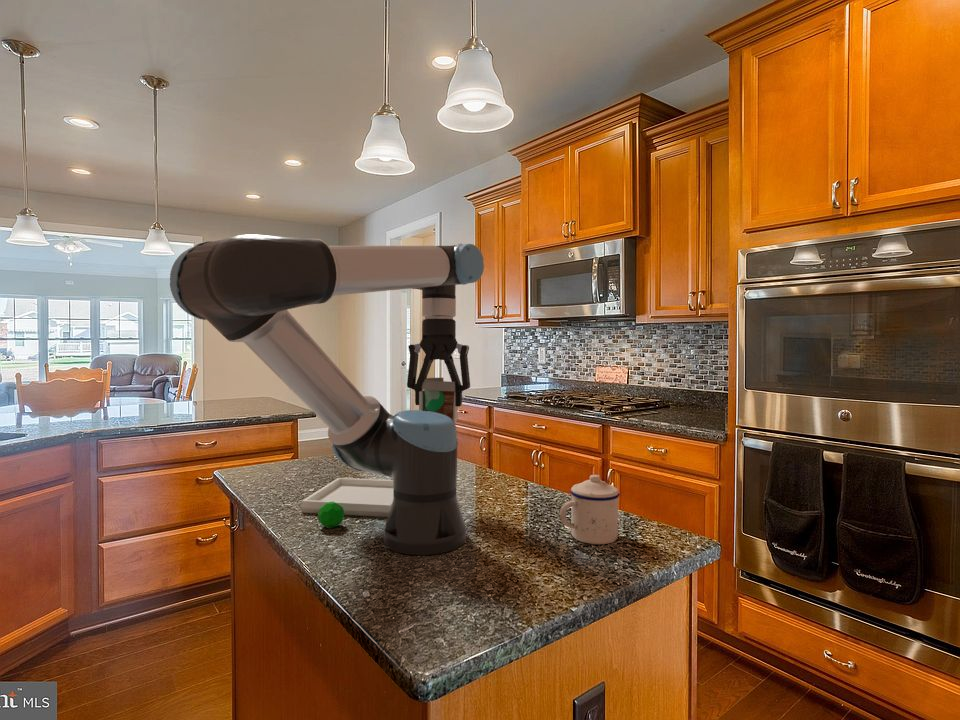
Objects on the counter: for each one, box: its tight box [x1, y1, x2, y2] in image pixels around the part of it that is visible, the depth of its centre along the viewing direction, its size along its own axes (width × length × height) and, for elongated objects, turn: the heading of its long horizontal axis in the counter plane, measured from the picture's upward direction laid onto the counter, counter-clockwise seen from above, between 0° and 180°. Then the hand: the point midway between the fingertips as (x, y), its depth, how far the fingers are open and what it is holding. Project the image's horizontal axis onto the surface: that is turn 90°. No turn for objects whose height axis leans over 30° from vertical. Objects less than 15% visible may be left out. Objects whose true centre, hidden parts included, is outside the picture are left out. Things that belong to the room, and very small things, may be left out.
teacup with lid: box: [559, 474, 620, 545], centre depth 101 cm, size 12×9×12 cm
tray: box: [301, 477, 393, 518], centre depth 123 cm, size 20×20×2 cm
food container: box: [422, 377, 455, 420], centre depth 121 cm, size 12×6×10 cm, turn 17°
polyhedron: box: [317, 502, 345, 529], centre depth 106 cm, size 5×5×5 cm
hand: (438, 420), depth 121 cm, fingers closed on food container, 7 cm apart
